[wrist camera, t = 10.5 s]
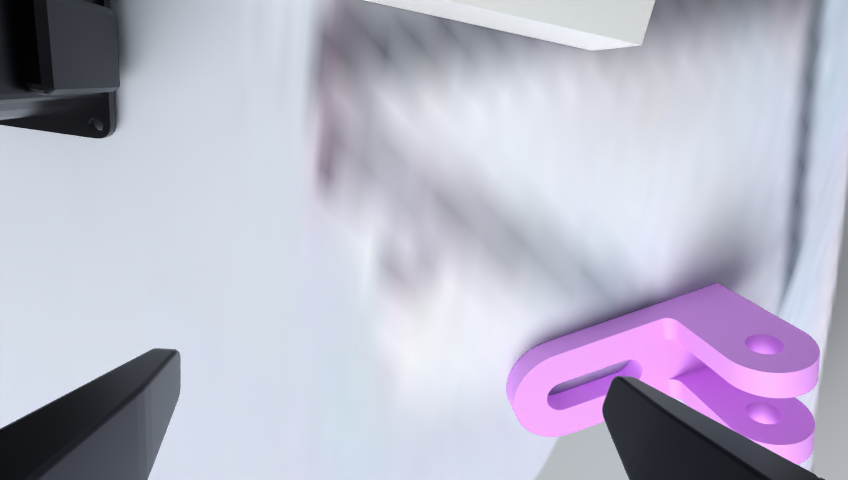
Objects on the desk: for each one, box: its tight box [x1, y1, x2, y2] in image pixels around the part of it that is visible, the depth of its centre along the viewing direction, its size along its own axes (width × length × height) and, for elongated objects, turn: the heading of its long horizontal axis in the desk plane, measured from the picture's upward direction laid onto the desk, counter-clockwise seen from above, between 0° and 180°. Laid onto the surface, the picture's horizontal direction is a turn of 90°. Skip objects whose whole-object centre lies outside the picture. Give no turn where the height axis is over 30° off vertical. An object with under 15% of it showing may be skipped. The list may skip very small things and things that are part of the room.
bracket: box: [506, 283, 820, 464], centre depth 22 cm, size 13×6×7 cm, turn 107°
